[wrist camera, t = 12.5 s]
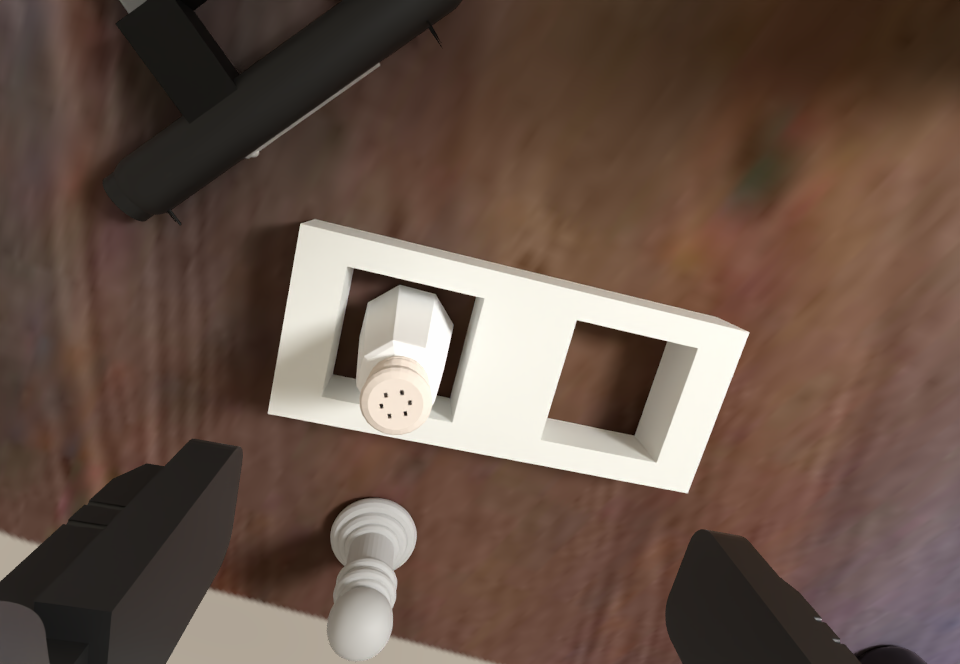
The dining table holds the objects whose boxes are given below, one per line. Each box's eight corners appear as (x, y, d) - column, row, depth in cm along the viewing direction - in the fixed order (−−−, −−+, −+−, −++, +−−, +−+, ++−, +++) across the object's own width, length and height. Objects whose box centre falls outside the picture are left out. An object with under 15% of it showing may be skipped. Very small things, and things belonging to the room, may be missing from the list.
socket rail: (716, 317, 33) (749, 332, 30) (663, 463, 35) (687, 493, 32) (315, 219, 29) (300, 223, 26) (284, 389, 32) (267, 413, 28)
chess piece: (410, 571, 36) (403, 695, 27) (327, 563, 35) (293, 687, 26) (423, 499, 34) (420, 605, 26) (337, 489, 34) (305, 595, 25)
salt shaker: (367, 380, 32) (337, 477, 21) (351, 289, 31) (310, 346, 20) (459, 368, 32) (473, 457, 22) (447, 278, 31) (457, 327, 20)
